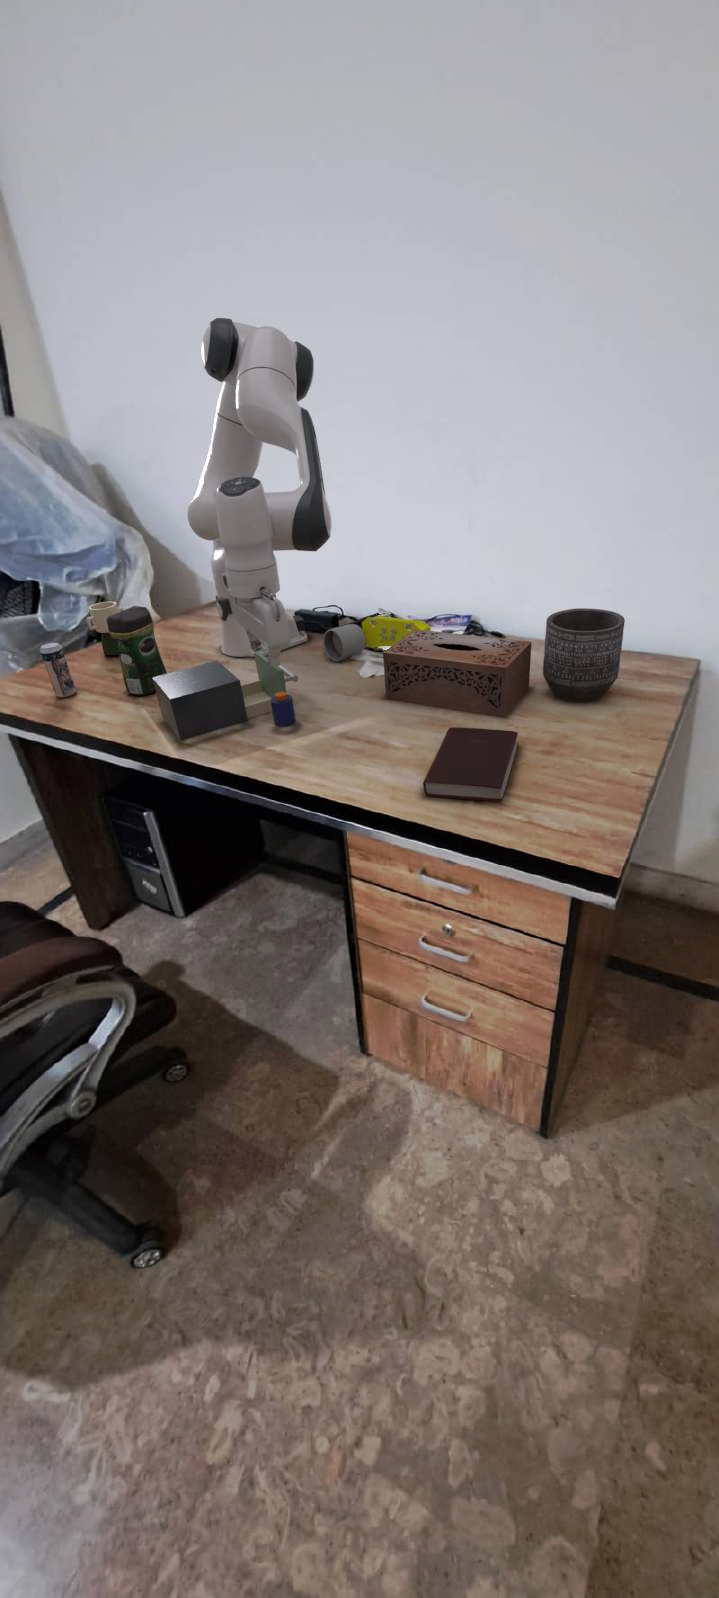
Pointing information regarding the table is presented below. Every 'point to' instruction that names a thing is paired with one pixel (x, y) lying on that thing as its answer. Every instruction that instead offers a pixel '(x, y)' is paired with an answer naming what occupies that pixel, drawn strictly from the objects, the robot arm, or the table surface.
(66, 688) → the beer can
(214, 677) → the drawer unit
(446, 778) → the book
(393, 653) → the tissue box cover
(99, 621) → the character mug
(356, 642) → the ceramic mug
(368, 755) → the table surface
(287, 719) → the glue bottle
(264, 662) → the drawer
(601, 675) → the planter
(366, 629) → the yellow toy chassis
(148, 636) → the coffee jar
